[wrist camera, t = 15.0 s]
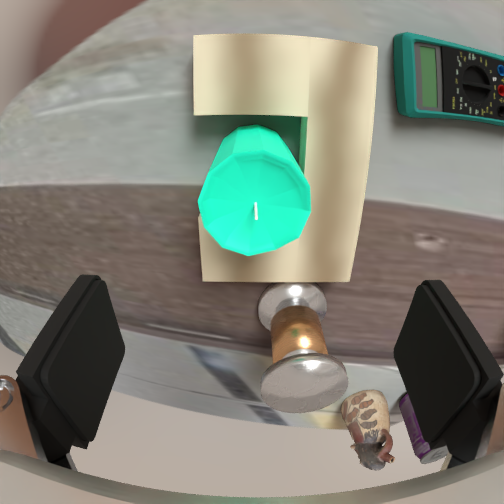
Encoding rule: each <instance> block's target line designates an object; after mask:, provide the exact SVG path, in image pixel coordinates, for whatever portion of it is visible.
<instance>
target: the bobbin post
mask: <svg viewBox="0 0 504 504" xmlns="http://www.w3.org/2000/svg"><path fill="white" fill-rule="evenodd" d="M326 310H327V303H326V299H325V296H324V293H323V291H322V289H321V288H320V287H319V286H318V285H317V284H316V283H314V282H274V283H272V284H271V285H269V286H268V287H267V288H266V289H265V290H264V291H263V293H262V294H261V296H260V299H259V303H258V312H259V318H260V321H261V322H262V324H263V325H264V326H265V327H266V328H267V329H268V330H270V331H271V342H272V356H273V365H271V366H270V367H269V368H268V369H267V370H266V371H265V372H264V374H263V376H262V378H261V396H262V399H263V400H264V402H265V403H266V404H267V405H268V406H270V407H272V408H274V409H276V410H279V411H283V412H288V413H305V412H311V411H315V410H319V409H322V408H324V407H326V406H329V405H330V404H332V403H334V402H335V401H337V400H338V399H339V398H340V397H341V396H342V395H343V394H344V393H345V391H346V389H347V387H348V377H347V373H346V369H345V367H344V365H343V364H342V362H341V361H340V360H338V359H337V358H335V357H333V356H330V355H328V352H327V348H326V344H325V340H324V336H323V332H322V328H321V323H320V322H321V321H322V320H323V318H324V316H325V314H326Z"/></svg>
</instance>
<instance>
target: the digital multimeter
mask: <svg viewBox="0 0 504 504" xmlns="http://www.w3.org/2000/svg"><path fill="white" fill-rule="evenodd" d="M479 65H480V66H479ZM484 69H485V70H484ZM394 78H395V89H396V99H397V108H398V112H399V113H400V114H401V115H405V116H408V117H411V118H450V119H461V120H471V121H478V122H484V123H489V124H495V125H500V126H504V56H500V55H497V54H493V53H489V52H486V51H482V50H478V49H474V48H470V47H466V46H463V45H459V44H455V43H451V42H447V41H443V40H439V39H435V38H431V37H427V36H423V35H418V34H413V33H409V32H406V33H401V34H396V35H395V36H394ZM468 100H469V101H468ZM491 118H492V119H491ZM497 119H498V120H497Z"/></svg>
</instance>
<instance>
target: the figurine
mask: <svg viewBox="0 0 504 504" xmlns="http://www.w3.org/2000/svg"><path fill="white" fill-rule="evenodd" d="M341 413H342V417H343V419H344V421H345V423H346V425H347V427H348V430H349V432H350V435H351V437H352V438H353V440H354V442H355V444H354V445H351V449H354V450H355V451H356V452H357V454H358V458H359V459H360V463H361V464H362V465H363V466H364V467H366V468H369V469H371V470H380V469H382V468H383V467H384V466H385V462H388V463H392V462H394V460H395V458H394V457H393V456H392V455H390V454H389V452H390V451H391V449H392V445H393V441H392V437H391V435H390V434H389V428H390V418H389V411H388V404H387V401H386V399H385V397H384V395H383V394H382V392H380V391H377V390H365V391H360V392H358V393H355V394H353V395H351V396H349V397H347V398H346V399H345V400H344V402H343V404H342V409H341ZM385 441H386V443H385V445H384V446H382V444H383V443H384V442H385Z"/></svg>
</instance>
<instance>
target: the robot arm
mask: <svg viewBox="0 0 504 504" xmlns="http://www.w3.org/2000/svg"><path fill="white" fill-rule="evenodd" d="M124 354H125V345H124V342H123V339H122V336H121V332H120V329H119V326H118V323H117V320H116V317H115V313H114V310H113V307H112V303H111V300H110V296H109V293H108V289H107V285H106V283H105V281H103V280H101V278H100V277H99V276H98V275H80V276H79V277H78V278H77V280H76V281H75V282H74V284H73V285H72V287H71V288H70V289H69V291H68V292H67V293H66V295H65V296H64V298H63V299H62V301H61V302H60V303H59V305H58V306H57V308H56V309H55V311H54V312H53V314H52V315H51V317H50V318H49V320H48V321H47V323H46V324H45V326H44V327H43V329H42V330H41V332H40V333H39V335H38V336H37V338H36V340H35V341H34V343H33V344H32V346H31V348H30V349H29V351H28V352H27V354H26V356H25V357H24V359H23V361H22V362H21V364H20V366H19V368H18V370H17V371H16V373H17V374H18V377H17V378H16V380H14V379H13V378H12V377H10V376H7V375H0V504H504V383H503V384H502V383H501V381H500V380H501V378H502V377H503V375H504V374H503V372H502V371H501V369H500V367H499V365H498V364H497V362H496V360H495V359H494V357H493V355H492V354H491V352H490V350H489V349H488V347H487V346H486V344H485V342H484V341H483V339H482V338H481V336H480V335H479V333H478V332H477V330H476V328H475V327H474V325H473V324H472V322H471V321H470V319H469V318H468V317H467V315H466V314H465V312H464V311H463V309H462V308H461V306H460V305H459V304H458V302H457V301H456V299H455V298H454V296H453V295H452V294H451V292H450V291H449V290H448V288H447V287H446V285H445V284H444V283H443V282H442V281H441V280H425V281H423V282H422V283H421V285H419V286H418V287H417V289H416V291H415V294H414V297H413V300H412V303H411V306H410V308H409V311H408V314H407V317H406V319H405V322H404V324H403V327H402V330H401V332H400V335H399V337H398V340H397V342H396V345H395V347H394V358H395V361H396V364H397V366H398V369H399V371H400V374H401V377H402V379H403V382H404V385H405V387H406V390H407V393H408V396H409V398H410V401H411V404H412V407H413V410H414V413H415V415H416V418H417V421H418V424H419V427H420V430H421V433H422V436H423V439H424V441H425V442H428V443H429V446H430V449H431V450H434V449H437V448H441V447H444V446H446V445H447V448H448V453H447V456H446V458H445V461H444V463H443V466H442V468H441V470H440V471H439V472H436V473H432V474H429V475H426V476H422V477H418V478H414V479H410V480H406V481H401V482H398V483H393V484H388V485H383V486H378V487H372V488H366V489H360V490H354V491H347V492H340V493H331V494H322V495H311V496H298V497H297V496H296V497H271V498H270V497H269V498H248V497H222V496H208V495H196V494H186V493H178V492H170V491H164V490H157V489H151V488H145V487H140V486H135V485H130V484H125V483H121V482H116V481H112V480H108V479H104V478H99V477H96V476H92V475H88V474H84V473H81V472H78V471H77V469H76V467H75V464H74V462H73V460H72V458H71V455H70V453H69V452H70V449H71V446H72V445H73V446H76V447H80V448H83V449H87V447H88V443H89V441H90V442H91V441H93V440H94V438H95V436H96V433H97V430H98V427H99V424H100V421H101V418H102V415H103V412H104V409H105V406H106V403H107V400H108V398H109V395H110V392H111V389H112V386H113V384H114V381H115V378H116V376H117V373H118V370H119V368H120V365H121V362H122V360H123V357H124Z"/></svg>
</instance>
